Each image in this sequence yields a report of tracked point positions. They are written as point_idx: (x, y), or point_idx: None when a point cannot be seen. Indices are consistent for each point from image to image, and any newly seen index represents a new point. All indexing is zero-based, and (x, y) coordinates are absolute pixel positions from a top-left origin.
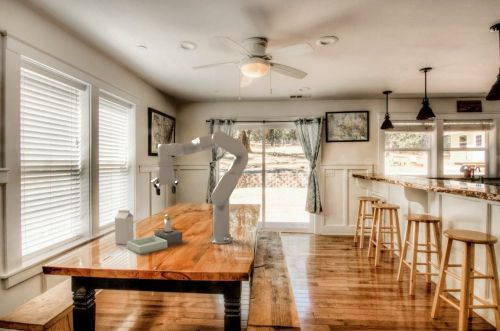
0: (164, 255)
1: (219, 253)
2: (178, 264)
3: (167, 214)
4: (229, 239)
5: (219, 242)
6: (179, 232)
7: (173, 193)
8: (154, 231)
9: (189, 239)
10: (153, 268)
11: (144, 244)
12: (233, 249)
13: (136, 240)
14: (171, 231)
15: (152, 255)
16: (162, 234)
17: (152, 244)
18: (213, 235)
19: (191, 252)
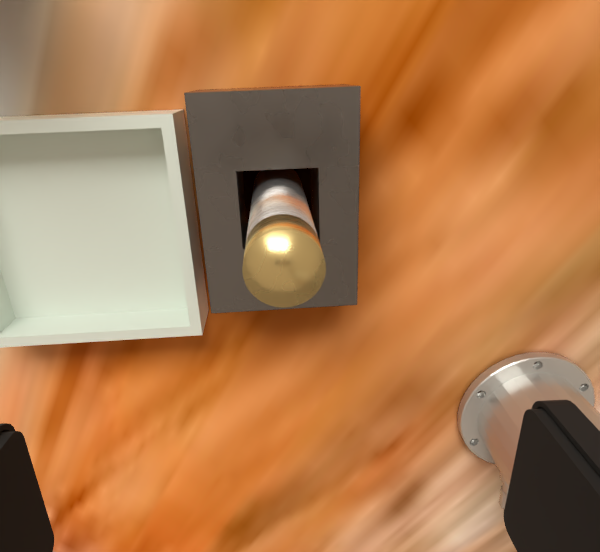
0: (138, 415)
1: (362, 537)
2: (146, 541)
3: (289, 249)
4: (503, 505)
5: (471, 451)
6: (335, 299)
7: (521, 466)
8: (185, 93)
9: (424, 240)
10: None
11: (82, 167)
12: (446, 534)
13: (5, 132)
14: (318, 197)
15: (81, 376)
16: (204, 250)
17: (86, 340)
18: (497, 421)
19: (274, 458)
